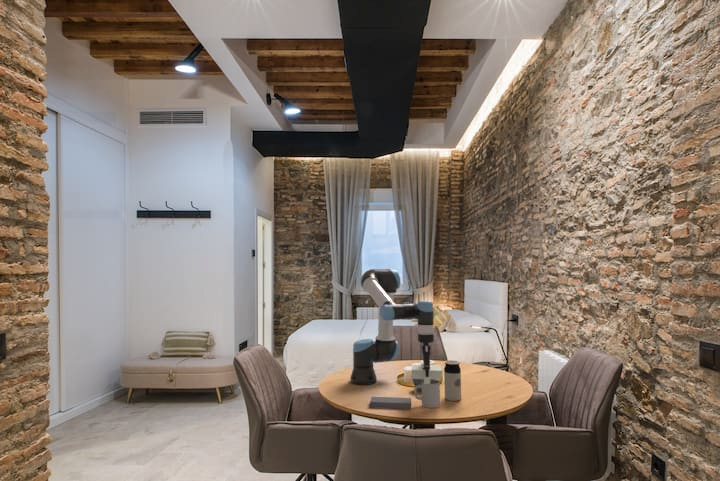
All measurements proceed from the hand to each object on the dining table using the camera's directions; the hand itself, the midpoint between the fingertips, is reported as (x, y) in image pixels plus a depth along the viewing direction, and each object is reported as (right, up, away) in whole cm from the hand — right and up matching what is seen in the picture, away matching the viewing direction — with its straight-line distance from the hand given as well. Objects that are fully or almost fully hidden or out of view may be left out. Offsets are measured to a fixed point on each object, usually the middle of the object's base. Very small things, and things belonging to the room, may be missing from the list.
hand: (426, 380), depth 192 cm
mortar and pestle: (+1, -14, +24) cm, 28 cm away
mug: (0, -12, -1) cm, 12 cm away
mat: (-17, -12, -1) cm, 21 cm away
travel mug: (+14, -12, +8) cm, 21 cm away
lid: (0, +2, 0) cm, 2 cm away
